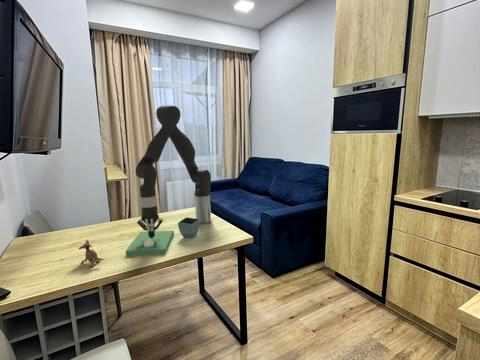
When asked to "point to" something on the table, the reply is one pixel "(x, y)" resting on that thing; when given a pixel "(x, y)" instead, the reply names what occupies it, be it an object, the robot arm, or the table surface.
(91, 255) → the dinosaur figurine
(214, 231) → the table surface
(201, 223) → the robot arm
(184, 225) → the flower pot
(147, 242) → the ball
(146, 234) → the putting mat
